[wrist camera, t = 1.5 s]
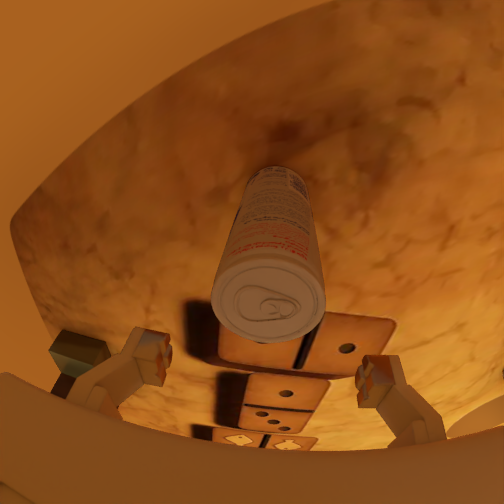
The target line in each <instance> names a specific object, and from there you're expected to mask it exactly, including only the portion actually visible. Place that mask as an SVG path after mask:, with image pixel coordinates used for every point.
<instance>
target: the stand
mask: <svg viewBox="0 0 504 504" xmlns="http://www.w3.org/2000/svg"><path fill="white" fill-rule="evenodd" d="M49 352H50V354H51V356H52V357H53V359H54V361H55V363H56V365H57V366H58V368H59V370H60V371H61V374H60V376H59V378H58V380H57V381H56V383H55V385H54V387H53V389H52V390H51V394H53V395H56V396H58V397H60V398H63V399H66V397H67V396H68V394H69V392H70V390H71V388H72V386H73V384H74V382H75V381H76V379H77V377H79V376H81V375H82V374H84V373H86V372H87V371H89V370H91V369H92V368H94V367H96V366H97V365H99V364H101V363H102V362H104V361H105V360H107V359H109V358H110V357H111V355H110V352H109V350H108V347H107V345H106V342H104V341H100V340H96V339H93V338H89V337H86V336H82V335H79V334H75V333H72V332H69V331H65V330H62V331H61V332H60V334H59V335H58V336H57V338H56V339H55V341H54V342H53V344H52V346H51V347H50V349H49ZM118 407H119V405H118V406H117V407H116V408H117V409H118Z"/></svg>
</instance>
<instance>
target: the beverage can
mask: <svg viewBox="0 0 504 504" xmlns="http://www.w3.org/2000/svg"><path fill="white" fill-rule="evenodd" d="M211 304H212V308H213V311H214V313H215V315H216V317H217V318H218V319H219V321H220V322H221V323H222V324H223V325H224V326H225V327H226V328H228V329H229V330H230V331H232V332H234V333H235V334H237V335H239V336H241V337H243V338H246V339H249V340H253V341H258V342H266V343H276V342H285V341H289V340H293V339H296V338H299V337H301V336H303V335H304V334H306V333H308V332H309V331H311V330H312V329H313V328H314V327H315V326H316V325H317V324H318V323H319V322H320V320H321V318H322V317H323V314H324V311H325V307H326V298H325V288H324V280H323V273H322V267H321V261H320V255H319V249H318V243H317V237H316V231H315V226H314V220H313V215H312V210H311V205H310V199H309V194H308V190H307V186H306V184H305V182H304V181H303V179H302V178H301V177H300V176H299V175H298V174H297V173H296V172H294V171H293V170H291V169H288V168H285V167H280V166H272V167H267V168H264V169H262V170H260V171H258V172H257V173H255V174H254V175H253V176H252V177H251V178H250V180H249V182H248V183H247V186H246V189H245V192H244V195H243V197H242V200H241V203H240V206H239V209H238V212H237V214H236V217H235V220H234V223H233V226H232V229H231V232H230V235H229V237H228V240H227V243H226V246H225V249H224V252H223V255H222V258H221V261H220V264H219V267H218V270H217V273H216V276H215V280H214V285H213V288H212V292H211Z"/></svg>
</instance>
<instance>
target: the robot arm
mask: <svg viewBox="0 0 504 504" xmlns="http://www.w3.org/2000/svg"><path fill="white" fill-rule="evenodd" d="M170 340H171V339H170V334H168V333H163V332H159V331H154V330H150V329H145V328H140V327H135V328H134V329H133V330H132V332H131V334H130V336H129V338H128V340H127V342H126V344H125V346H124V347H123V349H122V351H121V353H120V354H118V353H117V354H115V355H114V356H112V357H110V358H109V359H107V360H105V361H104V362H102V363H101V364H99V365H97V366H96V367H94V368H92V369H91V370H89V371H87V372H86V373H84V374H82V375H81V376H79V377H77V379H76V381H75V382H74V384H73V386H72V388H71V390H70V392H69V394H68V396H67V397H66V399H63V398H60V397H58V396H56V395H53V394H51V393H49V392H47V391H45V390H42V389H40V388H38V387H36V386H34V385H32V384H30V383H28V382H26V381H24V380H22V379H20V378H18V377H16V376H15V375H13V374H11V373H7V372H4V373H1V374H0V504H504V426H498V427H495V428H491V429H488V430H484V431H480V432H477V433H473V434H469V435H465V436H460V437H456V438H451V439H447V437H446V433H445V429H444V425H443V421H442V417H441V416H440V415H439V414H438V413H437V412H436V411H435V410H434V409H433V408H432V406H431V405H430V404H429V403H428V402H427V401H426V400H425V399H424V398H423V397H422V396H421V395H419V394H418V393H417V392H416V391H415V390H414V389H413V388H412V387H411V386H410V385H407V383H406V380H405V376H404V372H403V369H402V365H401V362H400V358H399V356H398V355H365V356H364V357H363V359H362V365H360V366H359V367H358V369H357V371H356V375H355V386H356V388H357V389H358V390H359V393H358V394H357V401H358V408H376V410H377V411H378V413H379V414H380V415H381V417H382V418H383V419H384V421H385V422H386V424H387V425H388V426H389V428H390V429H391V430H392V432H393V433H394V435H395V436H396V437H397V438H396V439H395V440H393V441H392V442H391V443H390V444H389V445H388V448H384V449H371V450H354V451H297V450H279V449H266V448H256V447H247V446H238V445H231V444H224V443H217V442H211V441H206V440H200V439H195V438H190V437H185V436H180V435H176V434H171V433H167V432H163V431H159V430H155V429H151V428H147V427H143V426H140V425H136V424H133V423H130V422H126V421H123V418H122V416H121V414H120V413H119V411H118V409H117V408H116V407H117V406H118V405H120V404H121V403H122V402H123V401H124V400H126V399H127V398H128V397H129V396H131V395H132V394H133V393H134V392H135V391H137V390H138V389H139V388H140V387H141V386H143V385H144V383H145V384H149V385H154V386H159V387H162V386H163V384H164V381H165V378H166V369H167V368H169V367H170V364H171V361H172V346H171V345H170V344H169V342H170Z"/></svg>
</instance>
